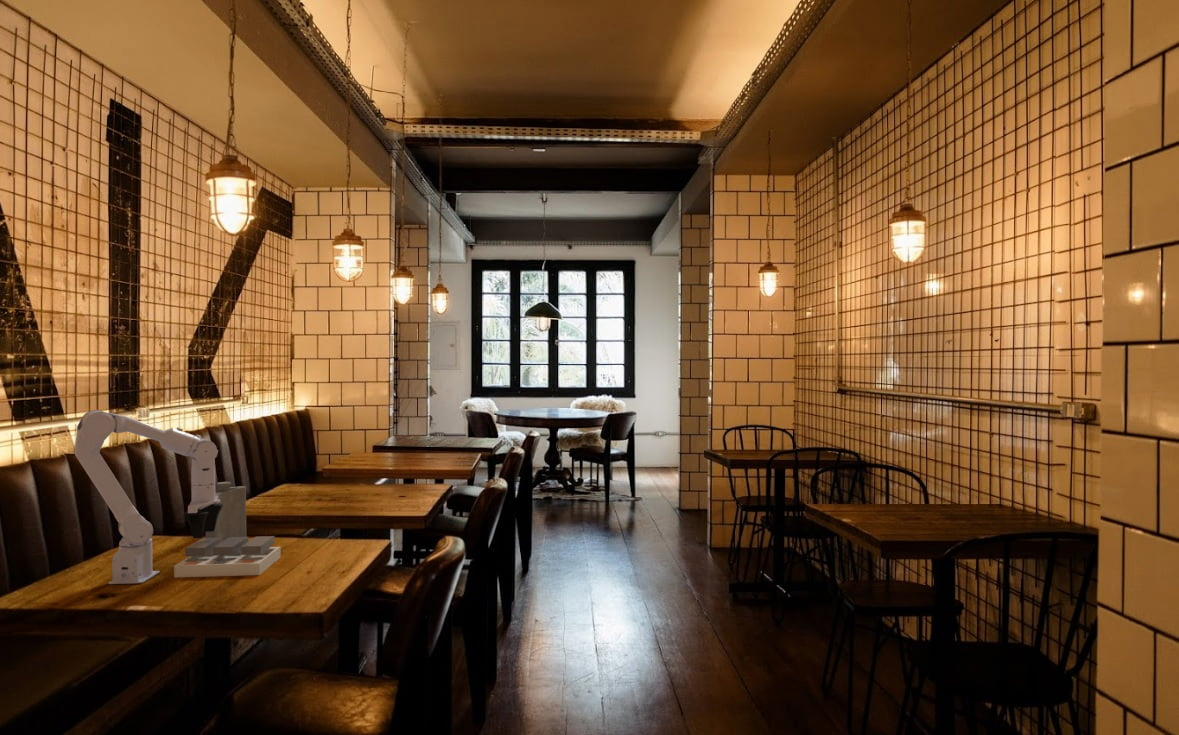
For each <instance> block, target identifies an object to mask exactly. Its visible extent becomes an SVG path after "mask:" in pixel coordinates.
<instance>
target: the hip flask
mask: <svg viewBox="0 0 1179 735" xmlns="http://www.w3.org/2000/svg"><path fill="white" fill-rule="evenodd" d="M216 484H217V485H216V486H217V491H216V490H215V496H218V500H220V502H219V503H216V504H223V506H222V508H221V510H220V512H219V515H218V518H217V522H216V527H215V530H214V531H213V532H206V531H205V538H220V537H222V542H223V541H224V540H226V539H227V538H229V537H247V486H245V485H244V486H243V485H239V486H232V482H231V481H221V482H220V481H219V482H217V483H216Z"/></svg>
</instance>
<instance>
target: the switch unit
mask: <svg viewBox="0 0 1179 735" xmlns="http://www.w3.org/2000/svg"><path fill="white" fill-rule="evenodd" d="M281 548H282V547H281V546H271V547H270V548H269V549H267V550H266V551H265V552H263V553H262V554H258V555H241V550H240V551H238V552H237V553H235V554H234V555H220V556H213V551H212V552H211V553H209V554H207V555H206V556H187V557H186V558H184V559H183V560H181V561H180V562H178V563H176V564H175V565H174V566H173V568H174V569H173V570H174V571H173V576H174V578H199V577H200V578H201V577H202V578H203V577H229V576H230V577H231V576H233V577H235V576H236V577H237V576H239V577H240V576H260V575H261V574H263V573H264V572H265V571H266V570H267V569H268V567H269V568H270V567H271V566H272V565H273V564H274V562H275V563H276V562H277V561H279V559H281V558H280V557H282V556H281V553H282V552H281V550H282V549H281Z"/></svg>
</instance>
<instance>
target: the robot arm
mask: <svg viewBox="0 0 1179 735" xmlns="http://www.w3.org/2000/svg"><path fill="white" fill-rule="evenodd" d="M112 433H115V434H121V433H131V434H134V435H138V436H141V437H143V438H147V439H150V440H154V441H156V442H159V444H160V446H161V448H162V449H164V450H167V451H170V452H172V453H176V454H179V455H181V456H185V457H190V458H191V469H190V470H191V471H190V472H191V473H190V474H191V501H190V503H189V505H188V506H187V511H185V512H183V517H184V518H185V519H186V521H187V523H188V525H189V528H190V531H191V535H192V538H193V539H202V538H204V537H203V536H204V532H205V533H206V532H213V531H214V530H215V527H216V522H217V518H218V515H219V512H220V510H221V508H222V506H223V504H216V503H219V502H220V500H218V496H215V492H216V464H215V463H216V462H215V461H216V460H215V459H216V458H217V457H218V454H219V453H218V452H219V449H217V446H216V444H215V443H214V441H211V440H209V439H205V438H203V437H202V436H201V435H199V434H196V435H194V434H191V433H188V432H186V431H184V428H181V427H176V428H174V427H170V428H168V429H165V430H164V429H162V428H158V427H155V426H154V425H150V424H148V423H145V422H143V421H140V420H138V419H135V418H132V417H130V416H127V415H122V414H119V413H118V414H116V413H112V412H106V411H104V410H99V409H91V410H89V411H87V412H86V413H84V414H83V416H82V417H81V419H80V420H79V422H78V424H77V425H76V436H75V441H74V442H75V444H74V452H73V453H74V455H75V457H76V459H77V460H78V461H79V463H80V465H81V466H82V468H83V469H84V471H85V472H86V474H87V475H88V477H89V479H90V480H91V482H92V483H93V485H94V486H95V488H96V489H97V491H98V492H99V494H100V496H101V497H102V499H103V501H104V502H105V503H106V505H107V506H108V508H109V509H110V511H111V512H112V514H113V516H114V518H115V520H116V521H117V522H118V523H117V524H118V532H119V534H120V535H121V536H122V538H121V540H120V541H119V543H118V550H117V551H116V552H115V553H114V554H113V557H112V558H111V560H112V561H111V563H112V564H111V565H112V568H111V570H112V572H111V574H112V580H110V581H108V584H109V585H118V584H119V585H123V584H126V585H127V584H128V585H129V584H143V583H144V582H147V581H148V580H149V579H151V578H153V577H154V576H157V575H158V574H159V573H160V570H153V568H154V567H153V538H152V536H153V534H154V528H153V525H152V523H151V522H150V521H148V520H146V518H145V517H144V516H142V515H141V514H140V513H139V511H138V510H137V509H136V507H135V506H134V504H133V503H132V502H131V500H130V499H129V497H128V495H127V493H126V492H125V490H124V489H123V487H122V485H121V483H120V482H119V480H117V478H116V476H115V475H114V473H113V471H112V470H111V469H110V467H109V466H108V464H107V462H106V461H105V459H104V458H103V456H102V454H101V453H100V451H101V449H102V447H103V445H104V443H105V441H106V440H107V438H108V437H110V435H112Z"/></svg>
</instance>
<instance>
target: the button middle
mask: <svg viewBox="0 0 1179 735" xmlns="http://www.w3.org/2000/svg"><path fill="white" fill-rule="evenodd" d="M248 541H249V536H246V537H229V538H227V539H226V540H224V541H223V542H221V543H219V544H218V545H216V546H214V547H213V556H220V555H234V554H235V553H237V552H238V551H240V550H241V546H243V545H244V544H245V543H247V542H248Z"/></svg>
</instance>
